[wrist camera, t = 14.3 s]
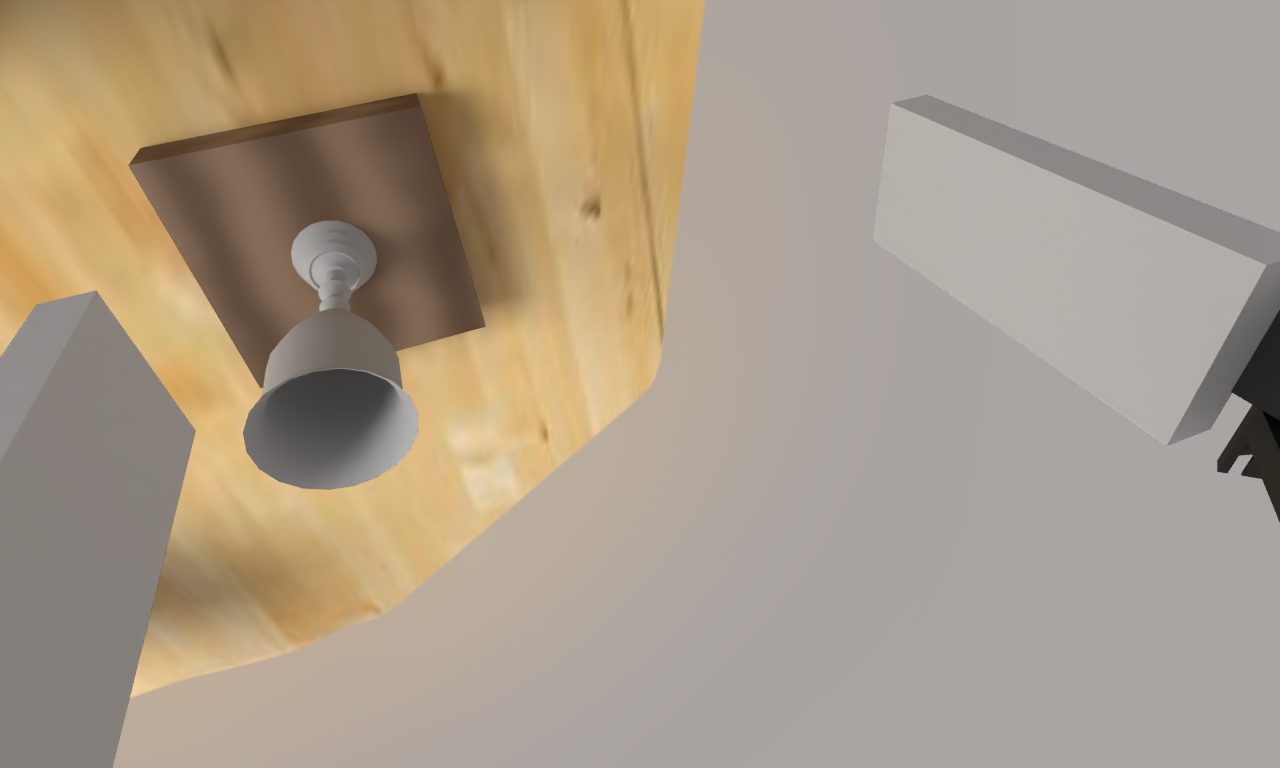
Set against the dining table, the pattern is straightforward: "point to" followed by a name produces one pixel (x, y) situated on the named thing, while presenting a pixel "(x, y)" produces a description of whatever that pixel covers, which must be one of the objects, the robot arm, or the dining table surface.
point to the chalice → (331, 378)
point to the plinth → (306, 194)
